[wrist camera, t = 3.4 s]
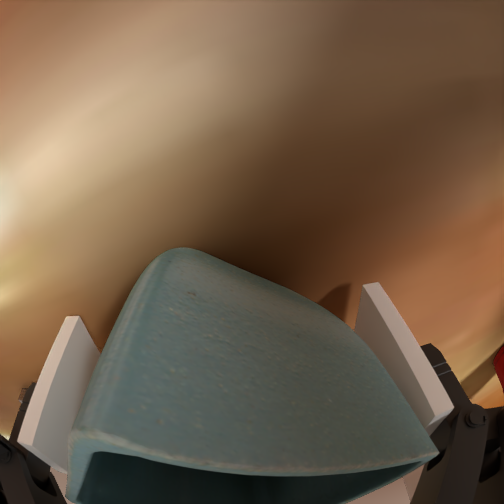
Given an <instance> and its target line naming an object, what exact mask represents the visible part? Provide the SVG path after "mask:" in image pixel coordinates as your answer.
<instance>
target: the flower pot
mask: <svg viewBox="0 0 504 504" xmlns="http://www.w3.org/2000/svg"><path fill="white" fill-rule="evenodd" d="M67 445H68V460H67V461H68V462H67V464H68V468H67V485H66V486H67V487H66V494H65V497H66V498H67V499H68V500H69V501H71V502H73V503H75V504H346V503H348V502H351V501H353V500H355V499H357V498H360V497H362V496H364V495H367V494H369V493H371V492H373V491H375V490H377V489H380V488H382V487H384V486H386V485H388V484H390V483H392V482H394V481H396V480H398V479H399V478H401V477H403V476H405V475H407V474H409V473H411V472H412V471H414V470H416V469H417V468H419V467H421V466H422V465H424V464H425V463H427V462H428V461H430V460H431V459H433V458H434V457H436V456H437V455H438V454H439V451H438V449H437V448H436V446H435V445H434V443H433V442H432V440H431V438H430V437H429V435H428V433H427V432H426V430H425V429H424V427H423V426H422V424H421V423H420V421H419V419H418V418H417V416H416V414H415V413H414V411H413V410H412V408H411V407H410V405H409V404H408V402H407V401H406V399H405V398H404V396H403V395H402V393H401V391H400V390H399V388H398V387H397V385H396V384H395V383H394V381H393V380H392V378H391V377H390V375H389V374H388V372H387V371H386V369H385V368H384V367H383V365H382V364H381V362H380V361H379V360H378V358H377V357H376V355H375V354H374V353H373V352H372V350H371V349H370V348H369V347H368V345H367V344H366V343H365V342H364V341H363V340H362V339H361V338H360V336H359V335H357V334H356V333H355V332H354V331H353V330H352V329H351V328H350V327H349V326H348V325H347V324H345V323H344V322H343V321H342V320H340V319H339V318H338V317H336V316H335V315H334V314H332V313H331V312H329V311H328V310H326V309H325V308H323V307H322V306H320V305H318V304H317V303H315V302H313V301H311V300H310V299H308V298H306V297H304V296H302V295H300V294H298V293H296V292H294V291H292V290H290V289H288V288H286V287H283V286H281V285H278V284H276V283H274V282H271V281H269V280H267V279H264V278H262V277H259V276H257V275H255V274H252V273H250V272H248V271H245V270H243V269H241V268H238V267H236V266H234V265H231V264H229V263H227V262H225V261H223V260H220V259H218V258H216V257H214V256H212V255H209V254H207V253H205V252H203V251H200V250H197V249H192V248H185V247H181V248H174V249H170V250H167V251H165V252H164V253H162V254H160V255H159V256H157V257H156V258H155V259H154V260H153V261H152V262H151V263H150V264H149V265H148V266H147V267H146V268H145V270H144V271H143V273H142V274H141V275H140V277H139V279H138V280H137V282H136V283H135V285H134V287H133V288H132V290H131V292H130V294H129V296H128V298H127V300H126V302H125V304H124V306H123V308H122V310H121V312H120V314H119V316H118V318H117V320H116V322H115V324H114V327H113V329H112V331H111V333H110V335H109V337H108V339H107V342H106V344H105V346H104V348H103V350H102V353H101V355H100V357H99V359H98V362H97V364H96V366H95V369H94V371H93V374H92V376H91V379H90V381H89V384H88V386H87V389H86V392H85V394H84V397H83V399H82V402H81V405H80V407H79V410H78V413H77V415H76V418H75V420H74V423H73V426H72V428H71V431H70V434H69V438H68V444H67Z"/></svg>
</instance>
